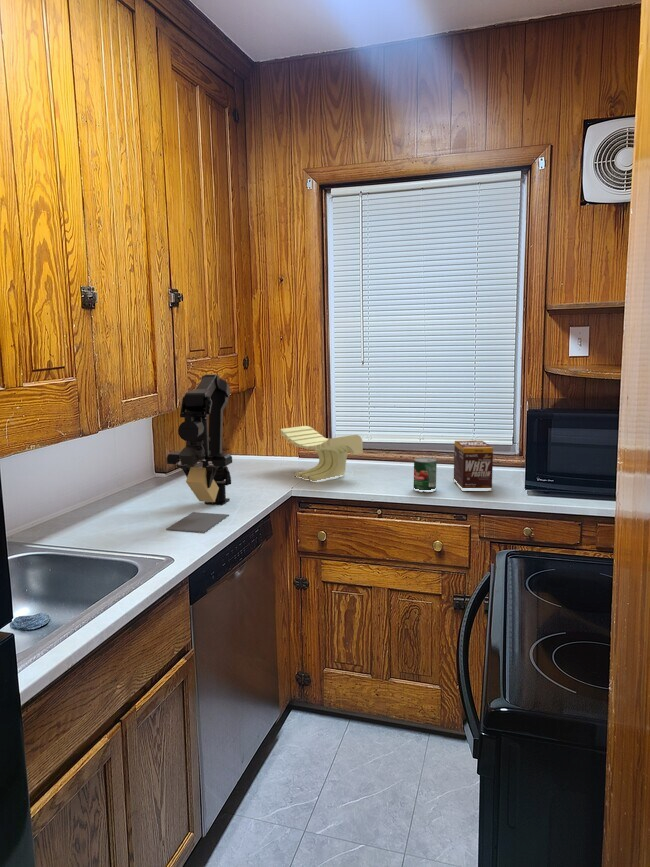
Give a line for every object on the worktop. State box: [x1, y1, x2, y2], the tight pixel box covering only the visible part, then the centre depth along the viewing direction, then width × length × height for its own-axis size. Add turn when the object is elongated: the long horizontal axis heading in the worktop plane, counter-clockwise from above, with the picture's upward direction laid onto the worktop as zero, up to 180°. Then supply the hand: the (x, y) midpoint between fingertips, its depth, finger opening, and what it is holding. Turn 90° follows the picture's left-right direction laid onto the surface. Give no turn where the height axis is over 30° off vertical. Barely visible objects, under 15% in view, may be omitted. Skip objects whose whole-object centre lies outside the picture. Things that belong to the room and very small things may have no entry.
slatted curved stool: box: [280, 425, 364, 481], centre depth 241 cm, size 30×16×18 cm, turn 40°
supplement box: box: [453, 440, 494, 489], centre depth 224 cm, size 10×15×16 cm
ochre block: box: [185, 466, 219, 503], centre depth 187 cm, size 5×5×12 cm
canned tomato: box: [413, 456, 438, 490], centre depth 220 cm, size 8×8×11 cm
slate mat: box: [165, 511, 230, 534], centre depth 185 cm, size 17×12×1 cm
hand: (200, 487), depth 185 cm, fingers closed on ochre block, 5 cm apart
